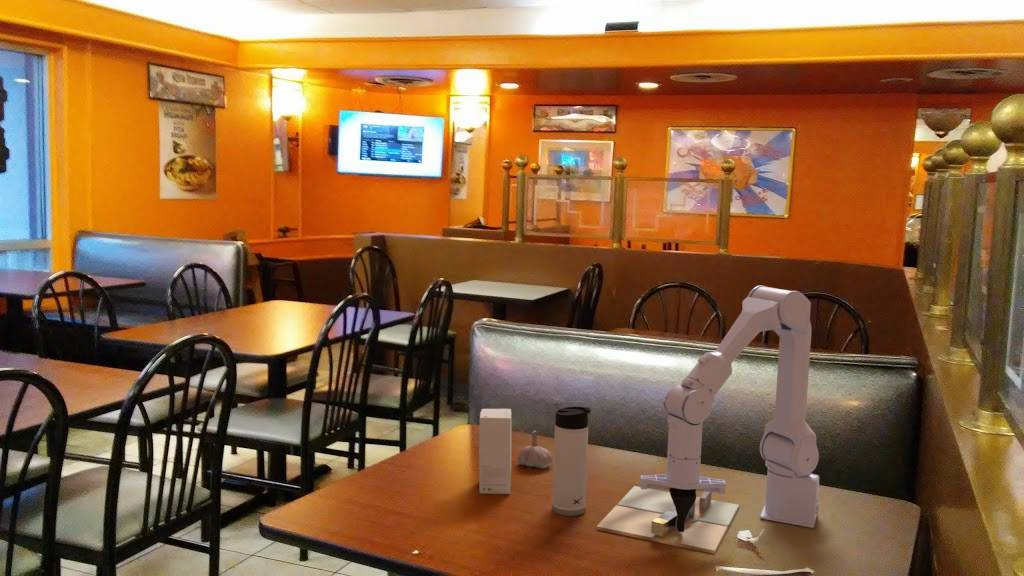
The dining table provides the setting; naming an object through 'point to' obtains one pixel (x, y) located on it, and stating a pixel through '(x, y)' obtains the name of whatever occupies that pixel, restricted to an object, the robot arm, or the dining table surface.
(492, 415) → the skincare box
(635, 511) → the door board
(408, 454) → the dining table surface
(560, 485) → the travel mug
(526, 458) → the garlic bulb
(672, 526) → the bar
